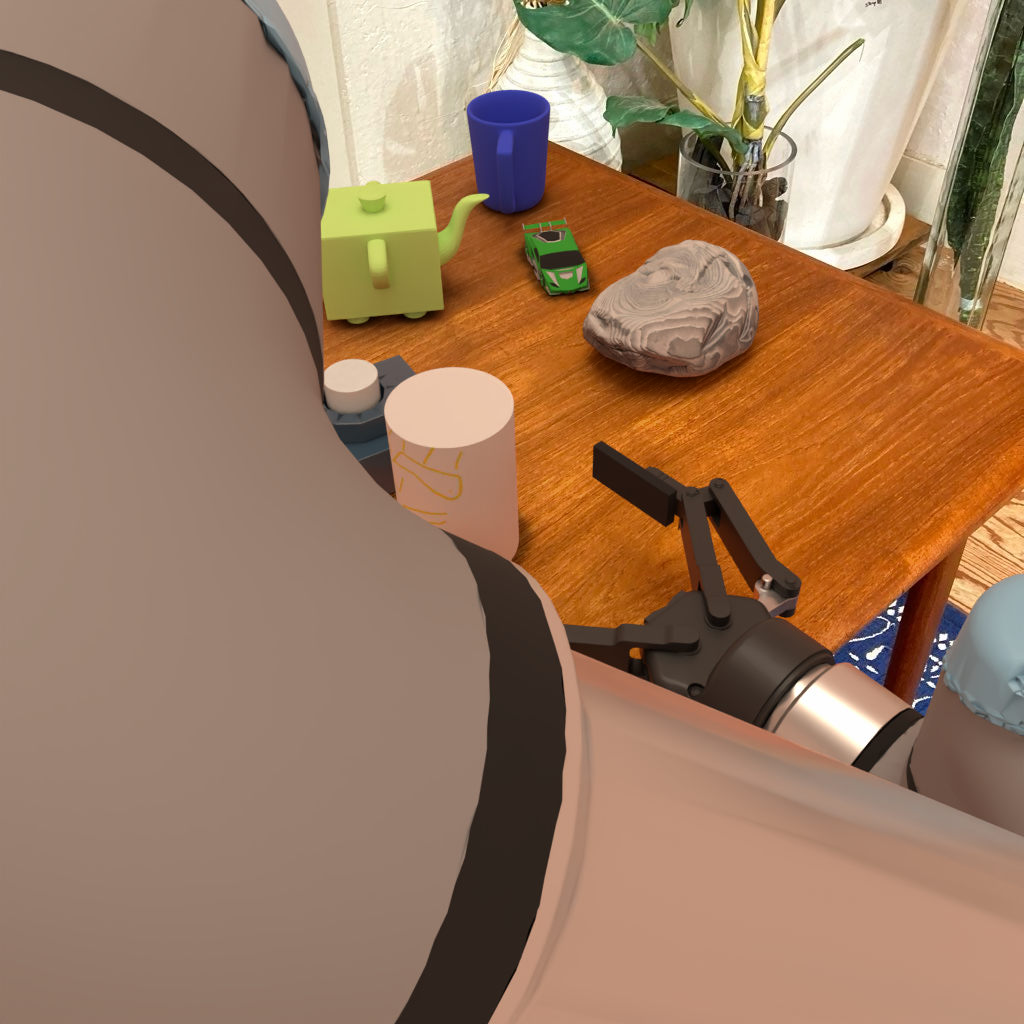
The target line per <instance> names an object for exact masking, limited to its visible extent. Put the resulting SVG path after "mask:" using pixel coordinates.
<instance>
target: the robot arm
mask: <svg viewBox="0 0 1024 1024" xmlns="http://www.w3.org/2000/svg"><path fill="white" fill-rule="evenodd" d="M330 156H331V155H330V149H329V141H328V131H327V127H326V122H325V119H324V114H323V112H322V108H321V105H320V102H319V99H318V96H317V94H316V92H315V90H314V87H313V82H312V79H311V75H310V72H309V68H308V64H307V62H306V59H305V55H304V53H303V51H302V47H301V45H300V43H299V39H298V38H297V36H296V34H295V32H294V29H293V28H292V25H291V23H290V21H289V19H288V17H287V16H286V14H285V13H284V11H283V9H282V7H281V5H280V4H279V2H278V0H0V1024H1024V573H1017V574H1013V575H1010V576H1008V577H1005V578H1003V579H1001V580H999V581H997V582H996V583H994V584H992V585H991V586H989V587H988V588H987V589H985V591H983V593H982V594H981V595H980V596H979V597H978V598H977V599H976V601H975V602H974V604H973V606H972V607H971V609H970V611H969V613H968V615H967V617H966V619H965V620H964V623H963V625H962V627H961V629H960V630H959V632H958V634H957V635H956V638H955V639H954V640H953V641H952V645H949V646H947V648H946V649H945V654H944V655H943V656H942V659H941V664H942V666H941V668H940V673H939V676H938V677H937V682H936V685H935V687H934V690H933V693H932V696H931V698H930V700H929V701H930V702H929V704H928V706H927V709H926V712H925V714H924V715H923V714H922V713H920V711H918V710H916V709H915V708H914V707H913V706H911V705H910V704H909V703H907V702H905V701H904V700H903V699H901V697H899V696H897V695H896V694H894V693H893V692H892V691H891V690H889V689H888V688H886V687H885V686H883V685H881V684H880V683H879V682H878V681H876V680H875V679H873V678H872V677H870V676H869V675H868V674H866V673H865V672H864V671H862V670H860V669H859V668H857V667H856V666H855V665H854V664H852V663H850V662H845V661H843V662H839V663H836V660H835V658H834V654H833V652H832V650H830V649H829V648H827V647H826V646H825V645H823V644H821V642H819V641H817V640H816V639H814V638H813V637H812V636H810V635H809V634H807V633H806V632H804V630H802V629H800V628H799V627H797V626H796V625H794V624H793V623H792V622H790V621H789V620H787V619H790V618H792V617H793V616H794V615H795V614H796V609H797V605H798V602H799V599H800V598H799V597H800V592H801V588H802V584H803V582H802V579H801V578H800V577H799V576H798V575H797V574H795V573H794V572H793V571H791V569H789V568H788V567H787V566H785V565H784V564H783V563H782V562H781V561H779V560H778V559H777V557H776V556H775V555H774V553H773V551H772V550H771V548H770V546H769V545H768V543H767V541H766V540H765V539H764V537H763V536H762V533H761V532H760V531H759V529H758V527H757V526H756V524H755V523H754V521H753V519H752V518H751V516H750V514H749V513H748V511H747V510H746V508H745V506H744V505H743V503H742V502H741V500H740V499H739V497H738V495H737V493H736V492H735V491H734V489H733V488H732V486H731V485H730V483H729V481H727V479H725V478H723V477H713V478H711V480H709V483H708V485H706V486H702V487H700V488H698V487H696V486H694V485H693V486H691V485H690V486H685V484H682V483H681V482H679V480H676V479H675V478H673V477H672V476H669V474H667V473H666V472H664V471H663V470H661V469H660V468H658V467H654V466H652V465H649V466H647V467H646V468H644V467H643V466H642V465H640V464H638V463H637V462H635V461H634V460H632V459H631V458H629V457H628V456H626V455H624V454H623V453H621V452H620V451H619V450H617V449H615V448H613V447H612V446H611V445H610V444H608V443H607V442H604V441H603V440H600V441H598V442H597V443H595V444H594V445H592V470H591V471H592V473H591V474H592V475H591V477H592V478H593V479H594V480H595V481H597V482H599V483H600V484H602V485H603V486H605V487H606V488H607V489H609V490H611V492H613V493H615V494H617V495H618V496H619V497H621V498H622V499H624V500H625V501H627V502H628V503H629V504H630V505H632V506H634V507H635V508H637V509H638V510H639V511H641V512H643V513H644V514H645V515H647V516H649V517H650V518H651V519H653V520H654V521H656V522H657V523H658V524H660V525H661V526H663V527H664V528H667V527H669V526H670V525H671V524H674V523H675V516H676V517H677V518H678V524H677V530H678V531H680V535H681V539H682V540H681V541H682V544H683V551H684V555H685V560H686V565H687V570H688V575H689V576H688V577H689V581H690V585H691V590H689V591H685V590H683V589H681V590H679V591H678V592H677V593H676V594H674V595H673V596H672V597H671V599H670V600H669V601H668V602H667V604H666V605H664V606H663V607H661V608H658V609H656V610H654V611H652V612H651V613H650V614H648V615H647V616H645V617H644V618H643V624H637V623H621V624H619V625H617V626H616V627H603V626H602V627H601V626H593V625H592V626H591V625H590V626H589V625H581V624H580V625H579V624H567V623H563V621H562V619H561V617H560V616H559V615H560V614H559V613H558V611H557V609H556V607H555V605H554V603H553V601H552V599H551V598H550V596H549V595H548V593H547V592H546V591H545V589H544V588H543V587H542V586H541V584H540V583H539V582H538V580H537V579H536V578H535V577H533V575H531V574H530V573H529V572H528V571H527V570H525V569H524V568H523V567H522V566H521V565H519V564H517V563H515V562H514V561H512V560H511V561H510V560H508V559H506V558H504V557H502V556H500V555H498V554H496V553H495V552H493V551H490V550H487V549H485V548H483V547H480V546H478V545H476V544H474V543H471V542H469V541H467V540H465V539H463V538H460V537H458V536H456V535H454V534H451V533H449V532H447V531H445V530H442V529H440V528H438V527H436V526H434V525H432V524H431V523H429V522H427V521H426V520H424V519H422V518H421V517H419V516H417V515H416V514H414V513H412V512H411V511H409V510H407V509H406V508H404V507H403V506H402V505H401V504H399V503H398V502H397V499H395V498H394V497H393V496H392V495H390V494H388V493H387V492H386V491H385V490H383V489H382V488H381V487H380V486H379V485H378V484H377V483H376V482H375V481H374V480H373V479H372V477H371V476H370V475H369V474H368V473H367V471H366V470H365V469H364V468H363V467H362V465H361V464H360V463H359V462H358V461H357V459H356V458H355V457H354V456H353V454H352V453H351V452H350V451H349V450H348V448H347V447H346V446H345V445H344V444H343V442H342V441H341V440H340V438H339V437H338V435H337V433H336V431H335V429H334V427H333V425H332V424H331V422H330V420H329V418H328V416H327V414H326V412H325V410H324V408H323V395H324V371H325V349H324V347H325V344H324V343H325V342H324V304H323V303H324V299H323V293H322V251H321V220H322V217H323V215H324V211H325V207H326V203H327V198H328V192H329V189H330V177H331V157H330ZM709 521H710V523H711V525H712V527H713V528H714V530H715V532H716V533H717V535H718V537H719V539H720V540H721V542H722V544H723V546H724V547H725V549H726V551H727V552H728V554H729V556H730V557H731V559H732V561H733V562H734V564H735V565H736V567H737V570H738V571H739V573H740V575H741V576H742V578H743V579H744V581H745V583H746V585H747V586H748V588H749V589H750V591H751V592H752V597H748V596H741V595H735V594H734V595H733V594H728V593H727V590H726V584H725V581H724V576H723V571H722V567H721V565H720V564H718V560H717V555H716V551H715V550H716V549H715V547H714V541H713V538H712V532H711V529H710V524H709ZM632 649H638V651H639V656H640V658H635V657H632V656H631V650H632Z"/></svg>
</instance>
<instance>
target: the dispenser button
mask: <svg viewBox="0 0 1024 1024" xmlns="http://www.w3.org/2000/svg"><path fill="white" fill-rule="evenodd" d="M373 364H374V363H372V362H370V361H368V360H365V359H360V358H348V359H347V358H346V359H342V360H339V361H337V362H335V363H332V364H331V365H329V366H328V367H327V368H326V369H324V392H325V397H326V402H327V405H328V407H329V408H330V409H331V410H332V411H335V412H338V413H340V414H358V413H361V412H364V411H367V410H369V409H372V408H374V407H375V406H376V405H377V404H378V403H379V401H380V399H381V391H380V385H379V378H378V371H377V369H376V367H375V366H374V365H373Z"/></svg>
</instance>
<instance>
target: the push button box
mask: <svg viewBox="0 0 1024 1024" xmlns="http://www.w3.org/2000/svg"><path fill="white" fill-rule="evenodd" d="M404 359H405V358H403V357H402V356H401V355H400V354H397V355H393V356H390V357H388V358H385V359H382V360H380V361H377V362H374V363H372V364H373V365H374V366H375V367H376V369H377V371H378V378H379V385H380V391H381V399H380V401H379V403H378V404H377V405H376V406H375V407H374V408H372V409H369V410H367V411H364V412H361V413H358V414H340V413H338V412H335V411H332V410H331V409H330V408H329V407H328V405H327V402H326V397H325V392H324V395H323V408H324V410H325V412H326V414H327V416H328V418H329V420H330V422H331V424H332V425H333V427H334V429H335V431H336V433H337V435H338V437H339V438H340V440H341V441H342V442H343V444H344V445H345V446H346V447H347V448H348V450H349V451H350V452H351V453H352V454H353V456H354V457H355V458H356V459H357V461H358V462H359V463H360V464H361V465H362V467H363V468H364V469H365V470H366V471H367V473H368V474H369V475H370V476H371V477H372V479H373V480H374V481H375V482H376V483H377V484H378V485H379V486H380V487H381V488H382V489H383V490H385V491H386V492H387V493H388V494H389V495H390V494H393V493H396V490H395V483H394V476H393V469H392V463H391V456H390V449H389V442H388V435H387V428H386V421H385V414H384V408H385V403H386V401H387V398H388V397H389V395H390V393H391V392H392V391H393V390H394V389H395V388H396V387H397V386H398V385H399V384H400V383H402V382H403V381H405V380H406V379H408V378H410V377H412V376H414V375H416V374H417V372H415V371H414V369H413V368H412V367H411V366H410V365H409V363H408V362H407V361H405V360H404Z"/></svg>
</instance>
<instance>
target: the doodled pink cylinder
mask: <svg viewBox="0 0 1024 1024" xmlns="http://www.w3.org/2000/svg"><path fill="white" fill-rule="evenodd" d="M384 414H385V421H386V428H387V435H388V442H389V449H390V456H391V463H392V469H393V476H394V483H395V490H396V492H395V496H396V501H397V502H398V503H399V504H401V505H402V506H403V507H404V508H406V509H407V510H409V511H411V512H412V513H414V514H416V515H417V516H419V517H421V518H422V519H424V520H426V521H427V522H429V523H431V524H432V525H434V526H436V527H438V528H440V529H442V530H445V531H447V532H449V533H451V534H454V535H456V536H458V537H460V538H463V539H465V540H467V541H469V542H471V543H474V544H476V545H478V546H480V547H483V548H485V549H487V550H490V551H493V552H495V553H496V554H498V555H500V556H502V557H504V558H506V559H508V560H510V561H512V559H514V558H515V555H516V553H517V550H518V548H519V543H520V530H519V529H520V527H519V503H518V475H517V474H518V473H517V449H516V448H517V447H516V425H515V423H516V422H515V400H514V396H513V393H512V392H511V390H510V389H509V387H508V386H507V385H506V384H505V383H504V382H503V381H502V380H500V379H499V378H498V377H497V376H494V375H492V374H490V373H488V372H486V371H483V370H480V369H476V368H470V367H469V368H468V367H462V366H461V367H459V366H448V367H439V368H433V369H428V370H425V371H422V372H419V373H416V375H414V376H412V377H410V378H408V379H406V380H405V381H403V382H402V383H400V384H399V385H398V386H397V387H396V388H395V389H394V390H393V391H392V392H391V393H390V395H389V397H388V398H387V401H386V403H385V408H384Z"/></svg>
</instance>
